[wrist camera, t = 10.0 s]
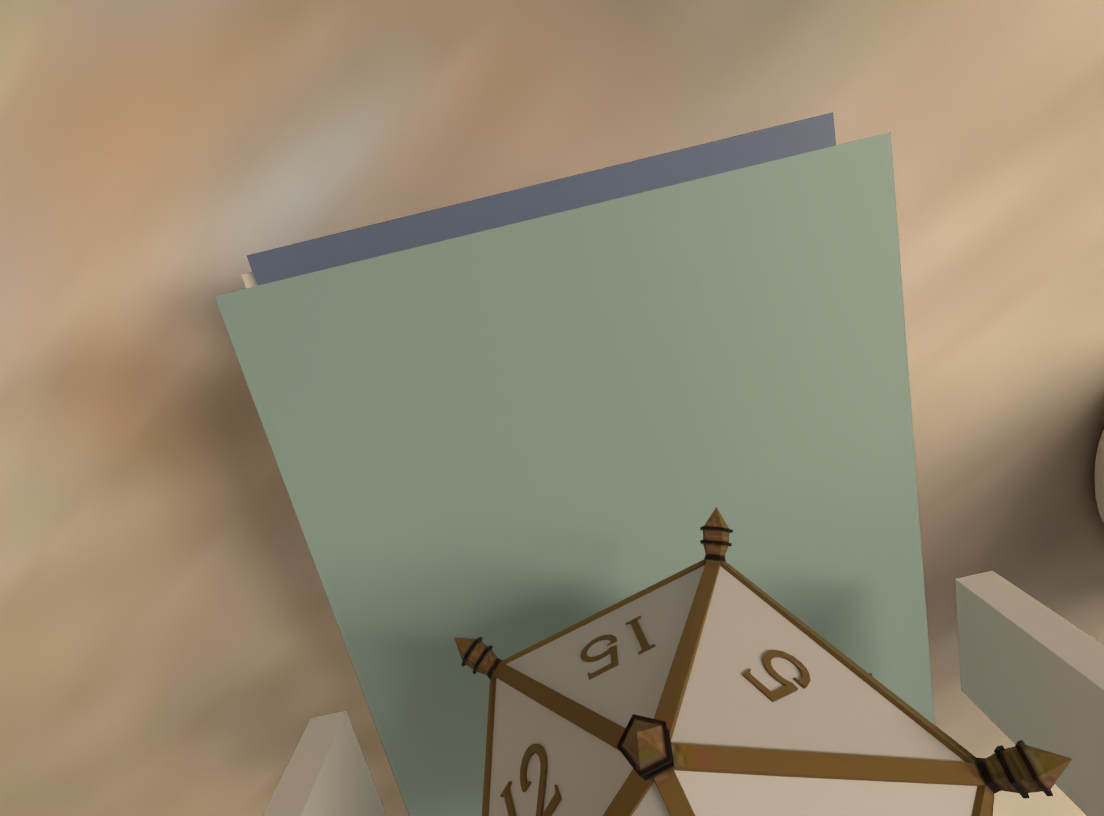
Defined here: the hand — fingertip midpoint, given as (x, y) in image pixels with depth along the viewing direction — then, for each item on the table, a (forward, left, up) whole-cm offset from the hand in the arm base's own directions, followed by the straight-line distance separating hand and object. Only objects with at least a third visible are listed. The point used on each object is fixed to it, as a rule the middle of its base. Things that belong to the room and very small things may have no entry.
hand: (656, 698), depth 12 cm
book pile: (0, 0, -8) cm, 8 cm away
